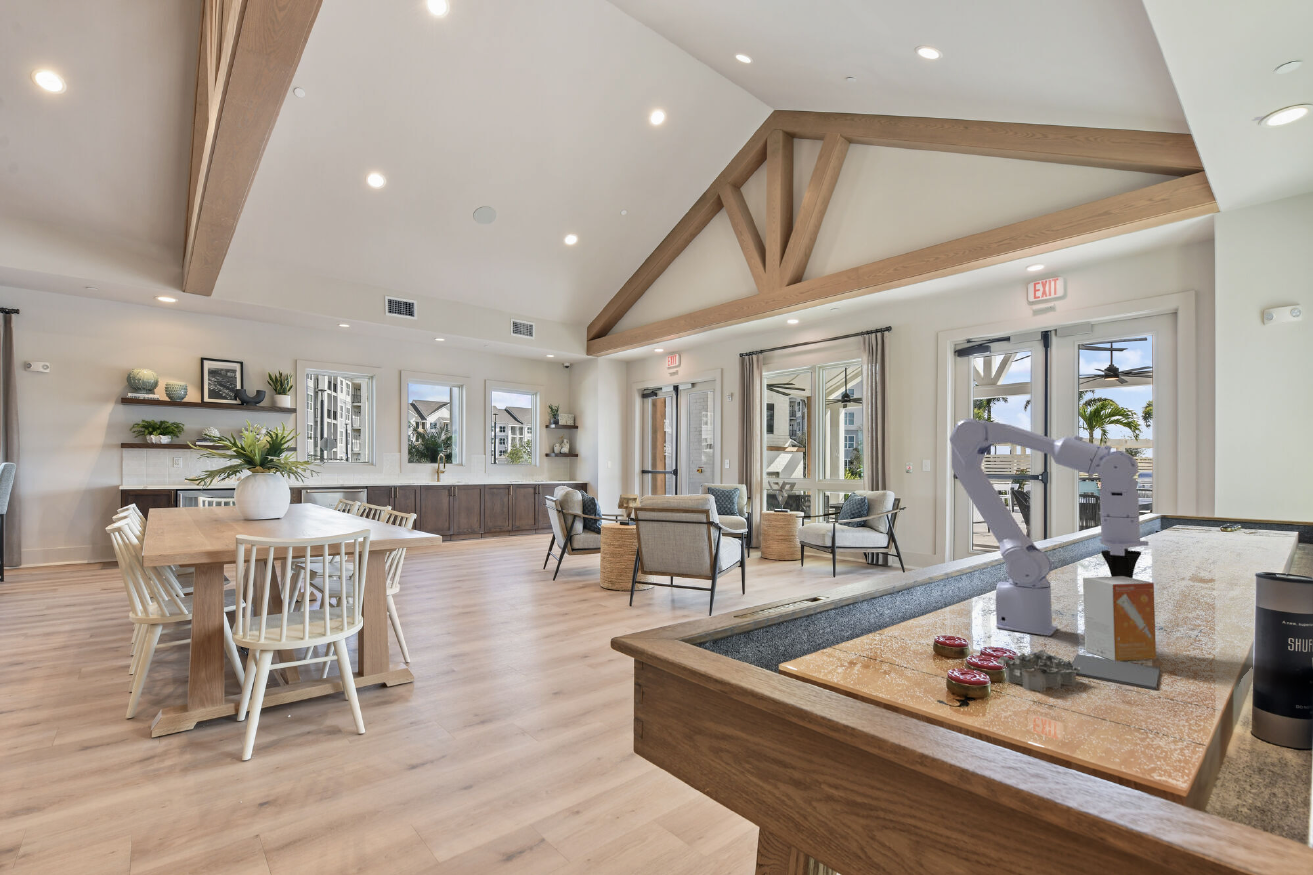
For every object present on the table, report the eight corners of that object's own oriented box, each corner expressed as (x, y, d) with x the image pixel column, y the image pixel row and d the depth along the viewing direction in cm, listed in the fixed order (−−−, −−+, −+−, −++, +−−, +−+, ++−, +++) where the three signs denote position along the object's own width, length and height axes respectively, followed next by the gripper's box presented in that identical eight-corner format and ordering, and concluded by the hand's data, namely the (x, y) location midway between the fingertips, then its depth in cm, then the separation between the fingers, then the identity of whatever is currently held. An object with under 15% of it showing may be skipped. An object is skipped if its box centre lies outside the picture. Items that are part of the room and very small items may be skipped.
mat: (1066, 673, 97) (1066, 670, 97) (1077, 656, 105) (1077, 654, 105) (1156, 689, 90) (1156, 687, 90) (1159, 670, 98) (1159, 667, 98)
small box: (1115, 662, 102) (1112, 583, 102) (1084, 650, 108) (1081, 576, 109) (1158, 659, 103) (1154, 582, 103) (1124, 648, 109) (1121, 575, 110)
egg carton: (1033, 695, 89) (1032, 667, 89) (992, 678, 96) (991, 652, 96) (1087, 686, 92) (1086, 659, 92) (1043, 670, 99) (1042, 645, 99)
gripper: (1144, 520, 105) (1148, 600, 104) (1149, 514, 116) (1152, 586, 115) (1094, 518, 110) (1097, 594, 109) (1103, 512, 120) (1106, 582, 120)
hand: (1122, 590), depth 112 cm, fingers closed
